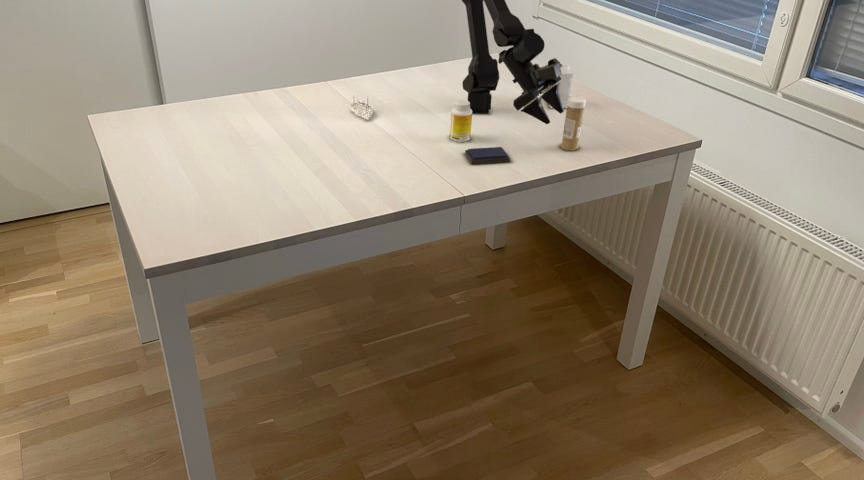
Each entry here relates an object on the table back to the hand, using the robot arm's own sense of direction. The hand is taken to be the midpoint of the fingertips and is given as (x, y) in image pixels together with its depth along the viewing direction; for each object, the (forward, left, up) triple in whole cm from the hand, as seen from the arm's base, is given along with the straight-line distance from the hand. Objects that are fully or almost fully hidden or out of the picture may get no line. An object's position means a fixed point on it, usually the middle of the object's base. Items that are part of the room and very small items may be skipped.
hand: (555, 117), depth 189 cm
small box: (+4, +31, -7) cm, 32 cm away
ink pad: (-18, -11, -7) cm, 22 cm away
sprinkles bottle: (+4, -2, -7) cm, 9 cm away
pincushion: (-54, +16, -7) cm, 56 cm away
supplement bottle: (-25, +1, -7) cm, 26 cm away
